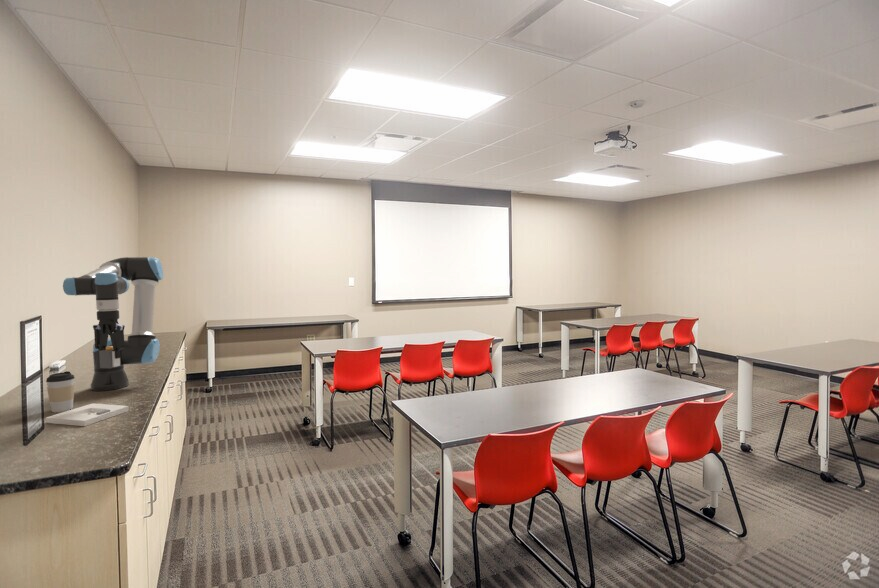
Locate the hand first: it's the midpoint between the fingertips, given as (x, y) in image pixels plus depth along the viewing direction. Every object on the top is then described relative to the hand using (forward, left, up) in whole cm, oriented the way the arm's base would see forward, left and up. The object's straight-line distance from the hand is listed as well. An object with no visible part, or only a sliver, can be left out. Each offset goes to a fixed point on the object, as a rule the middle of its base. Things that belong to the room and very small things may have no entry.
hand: (110, 365), depth 191 cm
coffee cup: (+8, -16, -17) cm, 25 cm away
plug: (0, 0, 0) cm, 0 cm away
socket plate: (+13, +4, -17) cm, 22 cm away
